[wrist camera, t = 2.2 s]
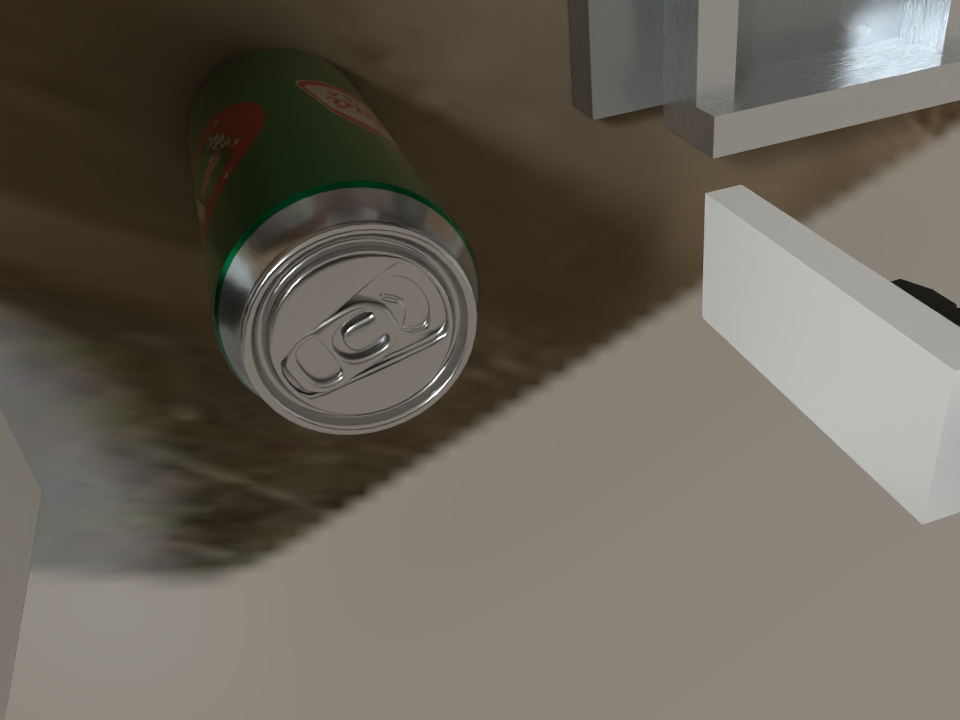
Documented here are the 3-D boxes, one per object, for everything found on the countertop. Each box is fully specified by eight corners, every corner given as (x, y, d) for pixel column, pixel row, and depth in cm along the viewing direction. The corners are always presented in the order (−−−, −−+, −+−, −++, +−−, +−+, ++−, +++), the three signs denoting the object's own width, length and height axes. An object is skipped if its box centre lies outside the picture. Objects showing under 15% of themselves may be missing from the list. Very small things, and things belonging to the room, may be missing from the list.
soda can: (398, 159, 27) (540, 357, 18) (256, 249, 28) (322, 496, 18) (305, 6, 24) (415, 146, 15) (147, 108, 25) (153, 313, 15)
